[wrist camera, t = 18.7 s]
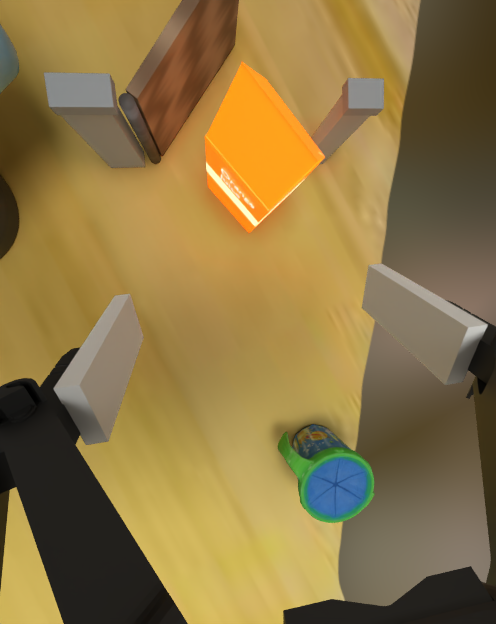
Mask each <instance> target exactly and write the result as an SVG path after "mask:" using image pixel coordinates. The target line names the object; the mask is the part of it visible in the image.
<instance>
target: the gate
mask: <svg viewBox="0 0 496 624" xmlns="http://www.w3.org/2000/svg"><path fill="white" fill-rule="evenodd" d="M238 3H239V0H182V1H181V3H180V4H179V6H178V8H177V9H176V11H175V12H174V14H173V16H172V17H171V19H170V20H169V22H168V23H167V25H166V27H165V28H164V30H163V31H162V33H161V34H160V36H159V38H158V39H157V41H156V42H155V44H154V46H153V47H152V49H151V50H150V52H149V53H148V55H147V57H146V58H145V60H144V61H143V63H142V64H141V66H140V68H139V69H138V71H137V72H136V74H135V76H134V77H133V79H132V80H131V82H130V83H129V85H128V87H127V88H126V91H127V93H123V94H122V95H120V97H119V104H120V106H121V108H122V110H123V111H124V113H125V115H126V117H127V119H128V120H129V122H130V124H131V126H132V128H133V129H134V131H135V133H136V135H137V137H138V138H139V140H140V142H141V144H142V146H143V147H144V149H145V151H146V153H147V155H148V156H149V158H150V160H151V162H152V163H154V164H157V163H159V162H160V160H161V158H160V155H162V156H163V154H164V153H165V151H166V150H167V148H168V147H169V145H170V144H171V142H172V141H173V139H174V137H175V136H176V134H177V133H178V131H179V130H180V128H181V127H182V125H183V124H184V122H185V121H186V119H187V117H188V116H189V114H190V113H191V111H192V110H193V108H194V107H195V105H196V104H197V102H198V100H199V99H200V97H201V96H202V94H203V93H204V91H205V90H206V88H207V87H208V85H209V84H210V82H211V80H212V79H213V77H214V76H215V74H216V73H217V71H218V70H219V68H220V67H221V65H222V64H223V62H224V60H225V59H226V57H227V56H228V54H229V53H230V51H231V50H232V48H233V47H234V45H235V36H236V25H237V14H238ZM159 154H160V155H159Z"/></svg>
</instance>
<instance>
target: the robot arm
mask: <svg viewBox="0 0 496 624" xmlns="http://www.w3.org/2000/svg"><path fill="white" fill-rule="evenodd" d="M18 72H19V59H18V56H17V52H16V50H15V48H14V46H13V44H12V42H11V40H10V38H9V37H8V35H7V33H6V32H5V30H4V29H3V27H2V26H1V24H0V93H1V92H2V91H3V90H4V89H5V88H6V87H7V86H8V85H9V84H10V83H11V82H12V81H13V80H14V79H15V77H16V76H17V74H18ZM18 219H19V218H18V209H17V204H16V201H15V198H14V196H13V194H12V192H11V190H10V188H9V186H8V185H7V183H6V182H5V181H4V179H3V178H2V177H1V176H0V258H1V257H2V256H3V255H4V254H5V253H6V252H7V251H8V250H9V248H10V247H11V245H12V244H13V242H14V239H15V237H16V234H17V230H18ZM362 308H363V309H364V310H365V311H366V312H367V313H368V314H369V315H370V316H371V317H372V318H373V319H374V320H376V321H377V322H378V323H379V324H380V325H381V326H382V327H383V328H384V329H385V330H386V331H387V332H389V333H390V334H391V335H392V336H393V337H394V338H395V339H396V340H397V341H398V342H399V343H401V344H402V345H403V346H404V347H405V348H406V349H407V350H408V351H409V352H410V353H411V354H412V355H414V356H415V357H416V358H417V359H418V360H419V361H420V362H421V363H422V364H423V365H424V366H425V367H426V368H428V369H429V370H430V371H431V372H432V373H433V374H434V375H435V376H436V377H437V378H438V379H439V380H441V381H442V382H443V383H444V384H445V385H447V384H454V383H460V382H463V380H464V378H465V376H466V373H467V371H468V370H469V371H470V372H471V373H473V374H474V375H475V376H476V377H475V379H474V381H473V383H472V385H471V387H470V389H469V392H468V394H467V397H466V398H470V397H471V395H474V402H475V411H476V420H477V430H478V440H479V449H480V459H481V468H482V477H483V487H484V496H485V506H486V515H487V525H488V534H489V543H490V553H491V564H490V569H489V573H488V577H487V582H486V583H483V582H481V581H480V580H479V578H478V577H477V575H476V574H475V572H474V571H473V569H472V567H471V566H470V567H466V568H462V569H458V570H453V571H449V572H445V573H441V574H437V575H432V576H428V577H426V578H425V579H424V580H422V581H421V582H420V583H419V584H417V585H416V586H415V587H413V588H412V589H411V590H410V591H408V592H407V593H406V594H405V595H403V596H402V597H401V598H399V599H398V600H397V601H395V602H394V603H393V604H391V605H389V606H377V605H370V604H362V603H355V602H348V601H341V600H334V599H330V600H326V601H322V602H318V603H313V604H309V605H305V606H301V607H297V608H292V609H288V610H284V611H283V615H284V624H496V327H495V326H494V325H492V324H490V323H488V322H486V321H485V320H483V319H481V318H479V317H478V316H476V315H474V314H471V313H470V312H469V311H467V310H465V309H463V308H461V307H460V306H458V305H456V304H454V303H453V302H450V301H447V300H444V299H442V298H440V297H439V296H437V295H435V294H434V293H432V292H430V291H428V290H427V289H425V288H423V287H421V286H420V285H418V284H416V283H414V282H413V281H411V280H409V279H407V278H406V277H404V276H402V275H400V274H399V273H397V272H395V271H393V270H391V269H390V268H388V267H386V266H385V265H383V264H374V265H369V266H368V272H367V279H366V285H365V291H364V297H363V304H362ZM143 338H144V337H143V334H142V330H141V327H140V324H139V321H138V318H137V314H136V311H135V308H134V305H133V302H132V299H131V295H130V294H124V295H116V296H114V298H113V299H112V301H111V302H110V304H109V305H108V307H107V308H106V310H105V311H104V313H103V314H102V316H101V317H100V319H99V320H98V322H97V323H96V325H95V326H94V328H93V329H92V331H91V332H90V334H89V335H88V337H87V339H86V340H85V342H84V343H83V345H82V346H81V348H74V349H71V350H70V351H69V352H67V353H66V354H65V355H64V356H62V357H61V359H60V360H59V361H58V363H57V364H56V366H55V368H53V370H52V371H51V372H50V375H48V377H47V378H46V379H45V381H44V382H43V383H42V385H41V386H40V388H39V386H38V384H37V383H36V381H34V380H33V379H28V378H23V379H18V380H14V381H12V382H9V383H7V384H4V385H2V386H1V387H0V589H1V578H2V567H3V556H4V545H5V534H6V523H7V512H8V501H9V490H10V489H12V488H15V487H17V490H18V493H19V496H20V498H21V501H22V504H23V507H24V510H25V513H26V516H27V519H28V522H29V524H30V527H31V530H32V533H33V536H34V539H35V542H36V545H37V548H38V551H39V553H40V556H41V559H42V562H43V565H44V568H45V571H46V574H47V577H48V579H49V582H50V585H51V588H52V591H53V594H54V597H55V600H56V603H57V605H58V608H59V611H60V614H61V617H62V620H63V623H64V624H188V623H187V622H186V620H185V619H184V617H183V615H182V614H181V612H180V611H179V609H178V607H177V606H176V604H175V603H174V601H173V600H172V598H171V596H170V595H169V593H168V592H167V590H166V589H165V587H164V586H163V584H162V582H161V581H160V579H159V578H158V576H157V574H156V573H155V571H154V570H153V568H152V566H151V565H150V563H149V562H148V560H147V558H146V557H145V555H144V554H143V552H142V550H141V549H140V547H139V546H138V544H137V542H136V541H135V539H134V538H133V536H132V535H131V533H130V531H129V530H128V528H127V527H126V525H125V523H124V522H123V520H122V519H121V517H120V515H119V514H118V512H117V511H116V509H115V507H114V506H113V504H112V503H111V501H110V499H109V498H108V496H107V495H106V493H105V491H104V490H103V488H102V487H101V485H100V483H99V482H98V480H97V479H96V477H95V476H94V474H93V472H92V471H91V469H90V468H89V466H88V464H87V463H86V461H85V460H84V458H83V456H82V455H81V453H80V452H79V450H78V448H77V447H76V442H77V440H78V438H79V436H80V435H81V437H82V439H83V441H84V442H85V444H86V445H89V444H95V443H101V442H107V441H109V438H110V435H111V432H112V429H113V426H114V423H115V420H116V417H117V414H118V411H119V409H120V406H121V403H122V400H123V397H124V394H125V391H126V388H127V385H128V382H129V379H130V376H131V373H132V370H133V367H134V364H135V361H136V358H137V356H138V353H139V350H140V347H141V344H142V341H143Z"/></svg>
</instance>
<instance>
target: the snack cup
mask: <svg viewBox="0 0 496 624" xmlns="http://www.w3.org/2000/svg"><path fill="white" fill-rule="evenodd" d="M278 450H279V451H280V453H281V454H282V455H283V457H284V458H285V460H286V462H287V463H288V465H289V466H290V467H291V469H292V470H293V472H294V473H295V474H296V475H297V477H298V491H299V496H300V502H301V504H302V506H303V508H304V509H306V511H307V512H308V513H309V514H310V515H311V516H312V517H314V518H315V519H317V520H320V521H323V522H328V523H336V522H342V521H345V520H348V519H350V518H352V517H354V516H355V515H357V514H358V513H359V512H360V511H362V510H363V508H365V507H366V506H367V505H368V504H369V502H370V501H371V500H372V498H373V496H374V491H373V489H374V477H373V473H372V470H371V467H370V465H369V463H368V462H367V461H366V460H364V459H363V458H362V457H361V456H360V455H359V454H358V453H356V452H355V451H353V450H351V449H350V448H349V447H348V446H347V445H346V444H344V443H343V442H342V441H341V440H340V439H339V438H338V437H337V436H336V435H335V434H333V433H332V432H331V431H330V430H329V429H327V428H325V427H323V426H318V425H314V424H312V425H311V426H309V427H306V428H304V429H302V430H301V431H300V432H299V433H298V434H296V436H295V437H294V442H293V446H292V447H291V446H290V444H289V439H288V433H287V432H285V433H284V434H283V436H282V437H281V439H280V441H279V443H278Z"/></svg>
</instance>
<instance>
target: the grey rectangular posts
mask: <svg viewBox="0 0 496 624" xmlns="http://www.w3.org/2000/svg"><path fill="white" fill-rule="evenodd" d="M44 77H45V83H46V90H47V96H48V102H49V107H50V108H51V109H52V110H53V111H54V112H55V113H56V114H57V115H61V116H62V117H63V118H64V119H65V120H66V122H67V123H68V124H69V125H70V126H71V127H72V128H73V129H74V130H75V131H76V132H77V133H78V134H79V135H80V136H81V137H82V138H83V139H84V140H85V141H86V142H87V143H88V144H89V145H90V146H91V147H92V148H93V149H94V150H95V152H96V153H97V154H98V155H99V156H100V157H101V158H102V159H103V160H104V161H105V162H106V163H107V164H108V165H109V166H110V167H111V168H124V167H145V159H144V151H143V149H142V148H141V146H140V144H139V142H138V141H137V139H136V137H135V135H134V134H133V132H132V130H131V129H130V127H129V125H128V123H127V122H126V120H125V118H124V116H123V115H122V113H121V111H120V109H119V108H118V106H117V100H116V92H115V84H114V82H113V80H112V78H111V76H110V74H97V73H44ZM383 109H384V79H369V78H348V79H347V81H346V82H345V84H344V85H343V87H342V95H341V97H340V98H339V100H338V101H337V102H336V104H335V105H334V107H333V108H332V109H331V111H330V112H329V113H328V115H327V116H326V118H325V119H324V120H323V122H322V123H321V125H320V126H319V127H318V129H317V130H316V132H315V133H314V134H313V136H312V137H311V139H312V140H313V142H314V143H315V144H316V145H317V147H318V148H319V149H320V151H321V152H322V153H323V155H324V156H325V158H324V159H323V160H322V161H321V162H320V163H319V164H323V163H324V162H325V161H326V160H327V159H328V158H329V157H330V156H331V155H332V154H333V153H334V152H335V151H336V150H337V149H338V148H339V147H340V146H341V145H342V144H343V143H344V142H345V141H346V140H347V139H348V138H349V137H350V136H351V135H352V134H353V133H354V132H355V131H356V130H357V129H358V128H359V127H360V126H361V125H362V124H363V122H364V121H365V120H366V119H367V118H368V117H369V116H376V115H377V114H378V113H380V112H381V111H382V110H383Z"/></svg>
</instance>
